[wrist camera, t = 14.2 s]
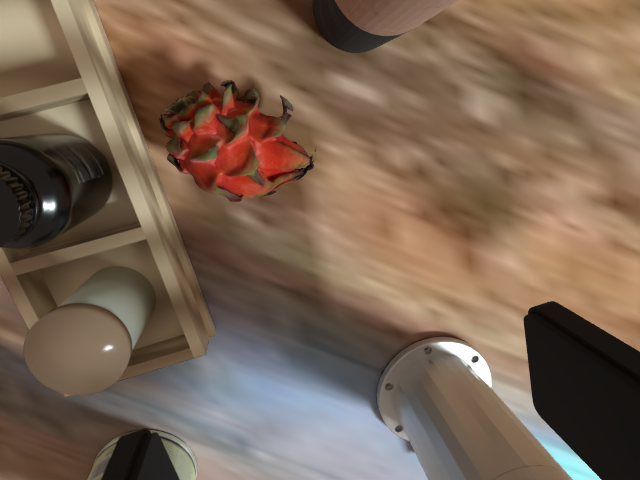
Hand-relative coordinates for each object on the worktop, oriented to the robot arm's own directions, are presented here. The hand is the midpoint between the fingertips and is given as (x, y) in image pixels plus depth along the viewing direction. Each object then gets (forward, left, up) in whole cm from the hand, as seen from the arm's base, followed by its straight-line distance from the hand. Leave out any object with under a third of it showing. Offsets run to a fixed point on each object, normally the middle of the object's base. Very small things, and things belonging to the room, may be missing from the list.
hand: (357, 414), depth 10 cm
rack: (+7, +16, -28) cm, 33 cm away
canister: (-4, +16, -27) cm, 32 cm away
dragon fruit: (+6, +2, -29) cm, 29 cm away
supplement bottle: (+7, +16, -27) cm, 32 cm away
